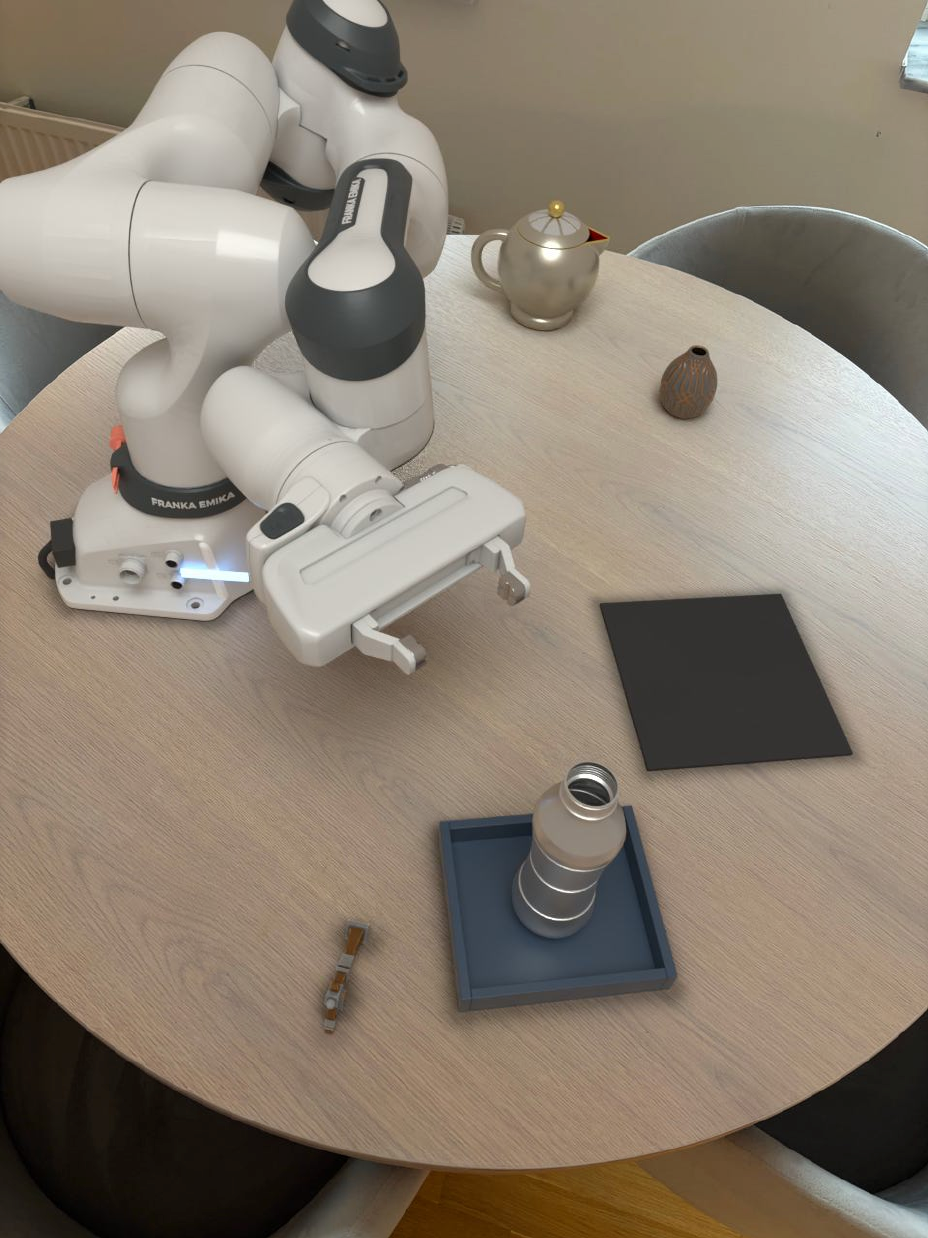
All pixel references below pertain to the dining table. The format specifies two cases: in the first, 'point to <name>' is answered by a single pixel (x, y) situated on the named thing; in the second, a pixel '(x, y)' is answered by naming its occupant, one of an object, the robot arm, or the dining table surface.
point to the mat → (720, 682)
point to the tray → (532, 964)
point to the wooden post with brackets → (344, 971)
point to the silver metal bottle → (569, 850)
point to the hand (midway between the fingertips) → (472, 629)
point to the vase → (689, 383)
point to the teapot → (543, 265)
